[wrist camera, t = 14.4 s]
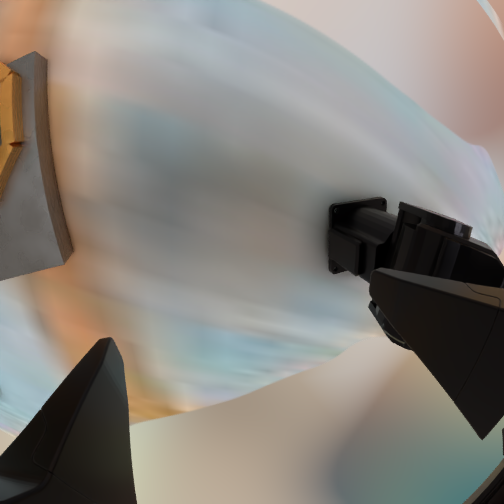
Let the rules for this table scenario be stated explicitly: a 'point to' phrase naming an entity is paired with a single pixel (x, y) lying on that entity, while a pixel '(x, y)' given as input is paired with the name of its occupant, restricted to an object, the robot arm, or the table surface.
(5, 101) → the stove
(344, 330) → the table surface
